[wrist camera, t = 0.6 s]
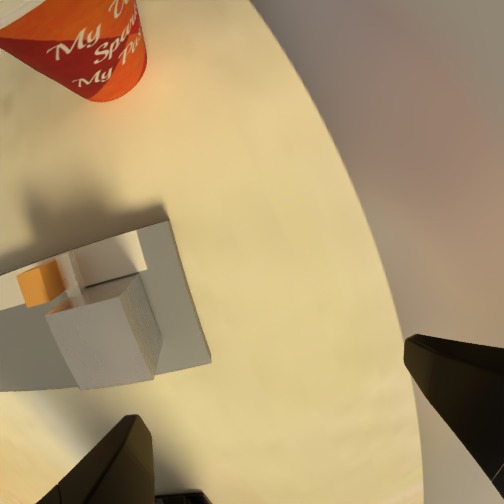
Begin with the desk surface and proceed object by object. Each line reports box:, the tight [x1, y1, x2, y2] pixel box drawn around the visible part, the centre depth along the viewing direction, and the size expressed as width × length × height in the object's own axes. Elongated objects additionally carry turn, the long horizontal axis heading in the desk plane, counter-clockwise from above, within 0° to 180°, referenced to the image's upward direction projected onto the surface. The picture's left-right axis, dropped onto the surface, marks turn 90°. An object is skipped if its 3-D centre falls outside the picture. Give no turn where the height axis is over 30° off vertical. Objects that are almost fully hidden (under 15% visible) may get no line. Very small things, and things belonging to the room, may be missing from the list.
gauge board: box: [0, 220, 211, 392], centre depth 15 cm, size 10×30×6 cm, turn 103°
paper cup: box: [0, 0, 147, 102], centre depth 9 cm, size 8×8×14 cm
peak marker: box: [16, 259, 66, 308], centre depth 14 cm, size 2×2×3 cm
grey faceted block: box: [45, 251, 163, 390], centre depth 15 cm, size 7×5×4 cm, turn 13°
